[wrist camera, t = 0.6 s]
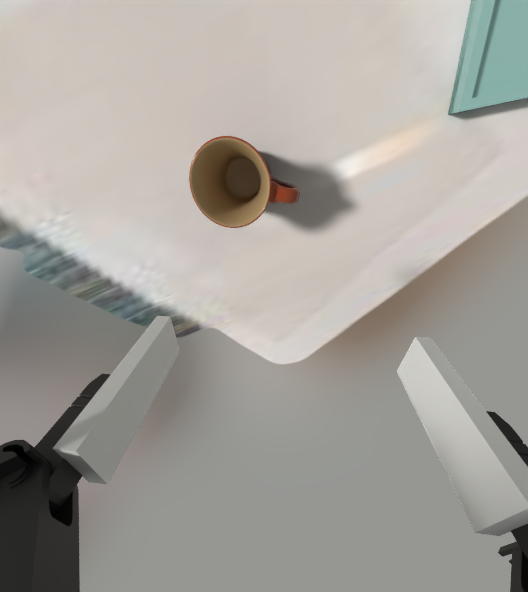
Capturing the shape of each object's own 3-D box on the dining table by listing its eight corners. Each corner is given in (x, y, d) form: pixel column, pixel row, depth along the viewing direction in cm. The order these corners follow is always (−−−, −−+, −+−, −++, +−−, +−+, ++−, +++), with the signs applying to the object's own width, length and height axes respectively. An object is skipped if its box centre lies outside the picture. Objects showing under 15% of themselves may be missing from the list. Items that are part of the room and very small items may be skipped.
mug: (214, 203, 35) (189, 220, 26) (217, 134, 30) (188, 127, 21) (290, 218, 35) (290, 239, 26) (305, 151, 30) (311, 152, 21)
